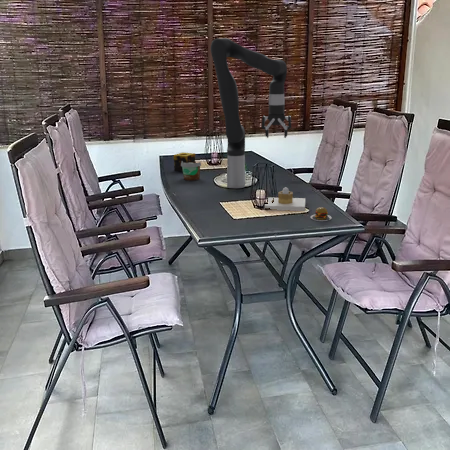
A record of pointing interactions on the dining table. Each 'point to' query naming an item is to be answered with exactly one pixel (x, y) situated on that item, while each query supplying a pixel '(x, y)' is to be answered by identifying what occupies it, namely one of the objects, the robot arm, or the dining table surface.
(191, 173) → the food container
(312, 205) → the dining table surface
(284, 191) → the post stand
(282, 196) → the ring
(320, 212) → the hamburger
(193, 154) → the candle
